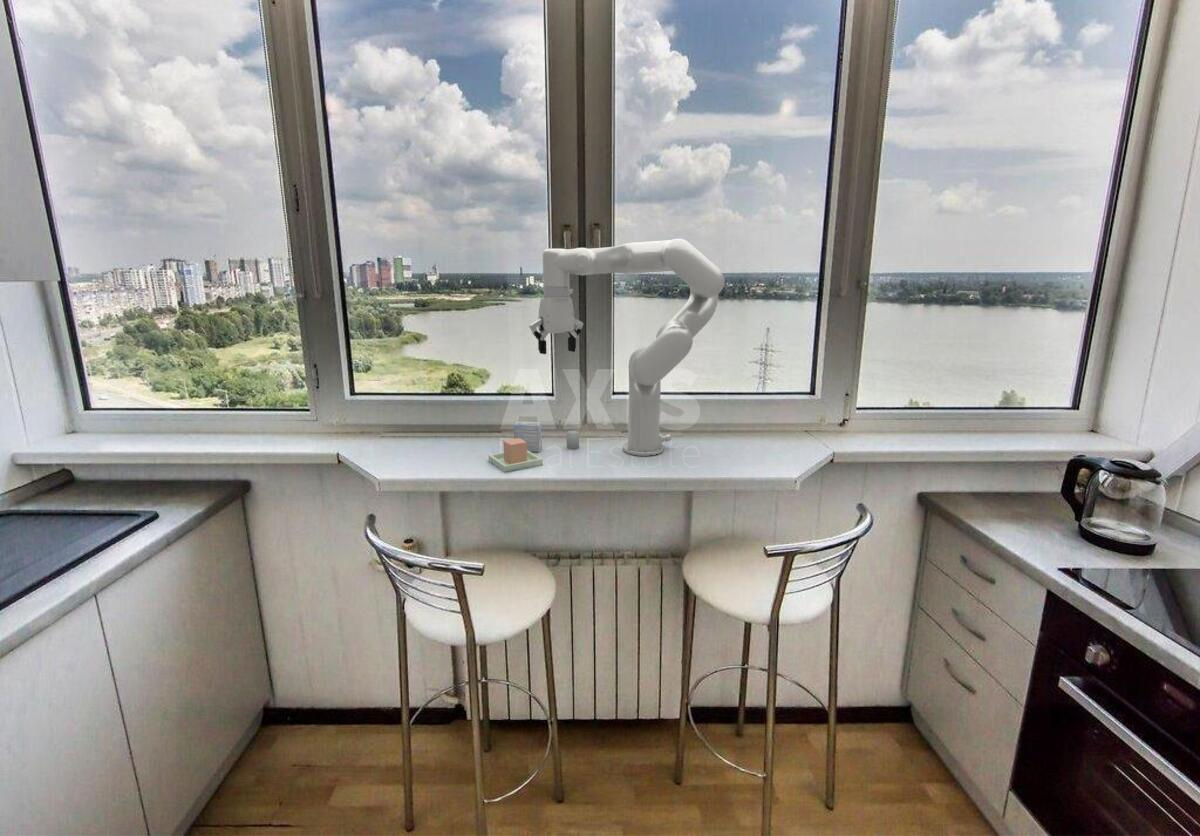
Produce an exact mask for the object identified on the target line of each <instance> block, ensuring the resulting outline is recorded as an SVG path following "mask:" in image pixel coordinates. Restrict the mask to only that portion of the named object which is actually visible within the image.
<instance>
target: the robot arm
mask: <svg viewBox="0 0 1200 836" xmlns="http://www.w3.org/2000/svg"><path fill="white" fill-rule="evenodd" d="M662 272H673V273H674V274H676V276H678V277H679V279H681V280H682V281H683V282H685V283H686V284H687V285H688V286H689V290H690V291H689V293H690V294H689V297H688V299H687V301H686V302H685V303H684V305H683V306H682V307H681V308H680V309H679V310H678V311H677V312H676V313H675V314H674V315H673V316H672V317H671V318H669V320H668V321H667V322H666V323H664V325H662V326H661V327H660V328H659V330H658V331H657V333H656V336H655V339H654V340H653V341H652V342H651V343H650V344H649V345H648V346H647V347H646V346H644V347H641V348H638V349H635V351H633V352H632V354H631V355H630V357H629V360H628V412H627V413H628V417H627V418H628V419H627V420H628V425H627V442H625V443H624V444H623V445H622V450H623V451H624V453H626V454H628V455H632V456H639V457H650V455H652V456H656V454H657V455H660V454H662V453H663V452H664V449H665V447H664V445H663V443H664V442H668V441H669V442H670V441H671V440H672V435H670V434H665V435H663V434H662V433H661V434H660V419H661V418H660V417H661V416H660V414H661V390H662V389H661V385H662V384H661V380H663V379H664V378H666V376H667V375H668V374H669V373H671V371H672V370H674V368H676V367H677V366H678V365H679V364H680V363H681V362H682V361H683V360H684V359H685V358H686V356H688V354H689V353H690V351H691V349H692V347H693V343H694V342H693V338H695V337H696V336H697V335H698V333H699V332H700V331H701V330H702V329H703V328H704V327H705V326H706V325H707V324H708V323H709V322H710V320H712V318H713V316H714V314H715V313H716V310H717V306H718V301H719V294H720V293H722V290H723V289H724V286H725V277H724V273H723V271H721V269H720V268H719V267H718V266H717V265H716V264H714V263H713V262H712V261H710V260H709V259H708V258H707V257H706V256H705V255H704V254H703V253H701V252H700V251H699V250H698V249H697V248H695V246H693V245H692V244H691V243H690V242H689V241H687V240H686V239H683V238H673V239H665V240H664V239H663V240H655V241H650V240H649V241H640V242H639V241H638V242H637V241H636V242H634V241H633V242H627V243H623V244H620V245H614V246H608V247H607V246H606V247H596V248H587V247H576V248H569V249H568V248H567V249H566V248H546V249H544V250H543V252H542V278H543V279H542V283H543V284H542V285H543V297H541V298H540V301H539V307H538V318H537V320H536V321H534V322H533V323H530V324H529V327H528V328H529V329H530V331H531V333H532V335H533V336H534V338H536V340H537V344H538V345H537V347H538V352H539V354H542V355H546V354H547V340H546V337H547V336H548V334H563V333H567V335H568V336H569V337H568V338H567V351H568V352H572V353H575V352H576V348H577V345H576V343H577V338H578V336H579V334H580V333H581V332H582V329H583V327H584V322H582V321H581V320H579V319H577V318H575V311H574V310H575V309H574V305H573V299H572V297H570V296H571V295H572V294H573V293H574V289H573V288H571V286H570V284H571V283H570V275H577V276H590V275H603V274H605V275H607V274H626V275H629V274H631V275H632V274H647V273H662ZM575 325H576V326H575ZM575 327H576V328H575Z"/></svg>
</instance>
